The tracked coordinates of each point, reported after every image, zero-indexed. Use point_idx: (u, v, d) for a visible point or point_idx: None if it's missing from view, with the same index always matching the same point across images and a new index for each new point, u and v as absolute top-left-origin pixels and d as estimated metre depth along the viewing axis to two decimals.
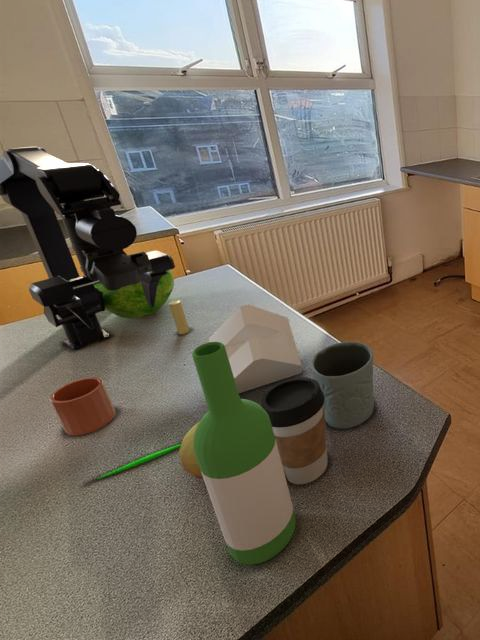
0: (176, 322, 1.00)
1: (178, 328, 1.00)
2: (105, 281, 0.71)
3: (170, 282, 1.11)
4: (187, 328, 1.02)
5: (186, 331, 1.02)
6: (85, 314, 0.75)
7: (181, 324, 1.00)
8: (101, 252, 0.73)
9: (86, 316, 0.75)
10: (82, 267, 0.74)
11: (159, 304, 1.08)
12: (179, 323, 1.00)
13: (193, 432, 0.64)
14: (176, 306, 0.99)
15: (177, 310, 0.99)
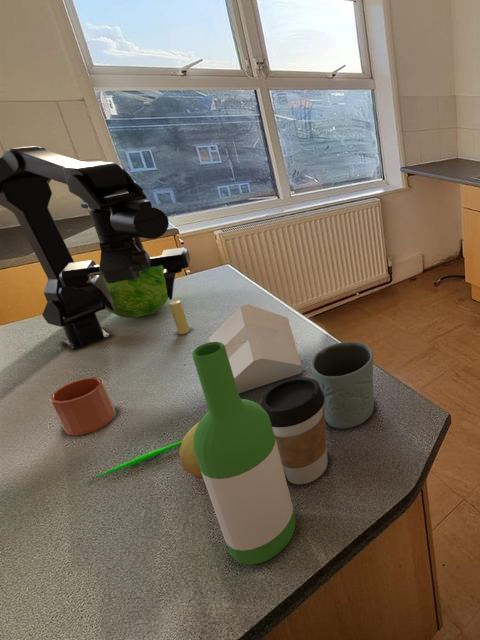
0: (176, 322, 1.00)
1: (178, 328, 1.00)
2: (102, 274, 0.76)
3: None
4: (187, 328, 1.02)
5: (186, 331, 1.02)
6: (104, 297, 0.82)
7: (181, 324, 1.00)
8: (114, 245, 0.79)
9: (105, 299, 0.83)
10: None
11: (159, 304, 1.08)
12: (179, 323, 1.00)
13: (193, 432, 0.64)
14: (176, 306, 0.99)
15: (177, 310, 0.99)
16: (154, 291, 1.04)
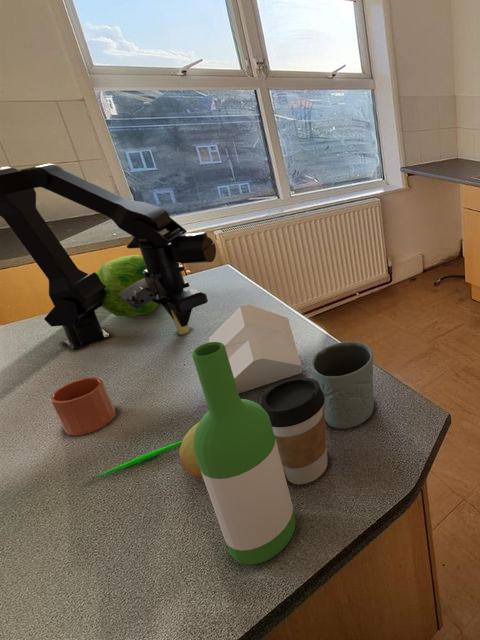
0: (176, 322, 1.00)
1: (178, 328, 1.00)
2: None
3: None
4: (187, 328, 1.02)
5: (186, 331, 1.02)
6: (169, 312, 1.00)
7: None
8: (148, 275, 0.94)
9: (170, 314, 1.00)
10: None
11: (153, 305, 1.08)
12: (179, 323, 1.00)
13: (193, 432, 0.64)
14: None
15: None
16: None
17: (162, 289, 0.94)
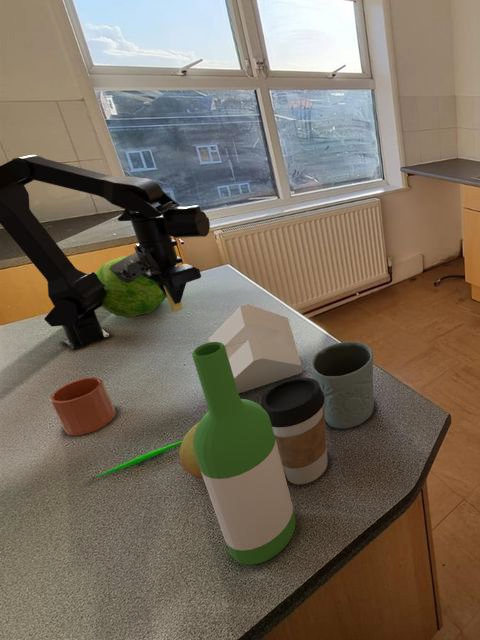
0: (169, 299, 0.98)
1: (172, 305, 0.98)
2: None
3: None
4: (180, 305, 0.99)
5: (179, 308, 0.99)
6: (161, 289, 0.98)
7: None
8: (140, 249, 0.92)
9: (162, 291, 0.98)
10: None
11: (153, 304, 1.08)
12: (172, 300, 0.98)
13: (193, 432, 0.64)
14: None
15: None
16: (147, 291, 1.04)
17: (154, 263, 0.92)
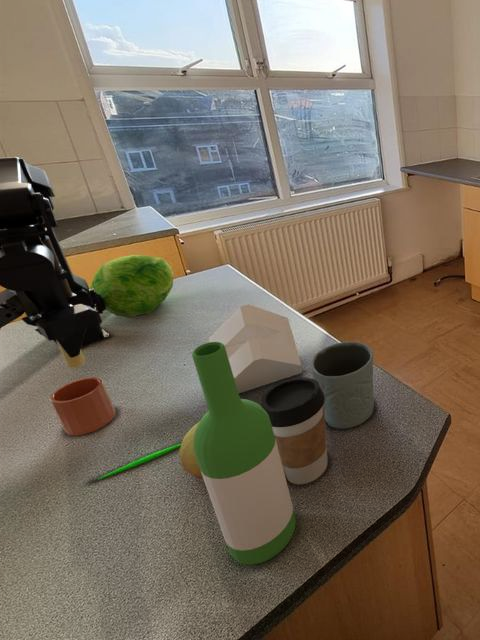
0: (62, 351, 0.71)
1: (67, 359, 0.71)
2: None
3: (167, 282, 1.11)
4: (81, 359, 0.72)
5: (79, 363, 0.72)
6: None
7: None
8: None
9: (53, 340, 0.71)
10: None
11: (153, 304, 1.08)
12: None
13: (193, 432, 0.64)
14: None
15: None
16: (147, 291, 1.04)
17: (31, 306, 0.65)
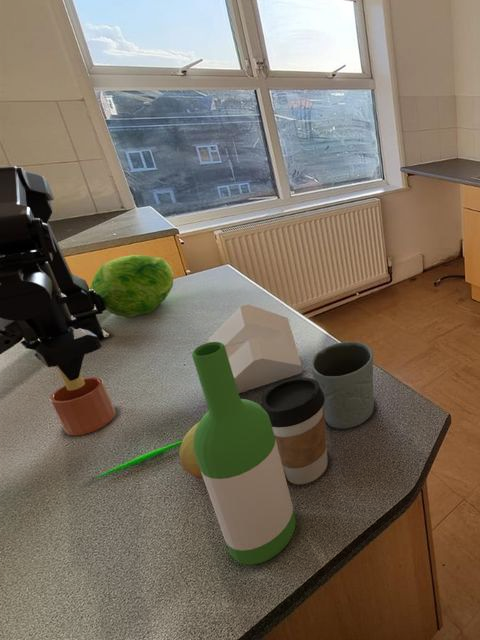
0: (61, 374, 0.70)
1: (66, 382, 0.71)
2: None
3: (167, 282, 1.11)
4: (80, 381, 0.72)
5: (78, 386, 0.72)
6: None
7: None
8: None
9: None
10: None
11: (153, 304, 1.08)
12: None
13: (193, 432, 0.64)
14: None
15: None
16: (147, 291, 1.04)
17: (30, 331, 0.64)
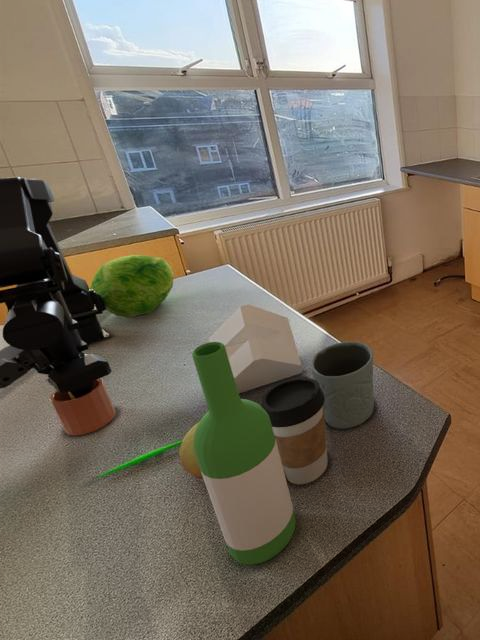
0: (72, 397, 0.72)
1: None
2: None
3: (167, 282, 1.11)
4: None
5: None
6: None
7: None
8: None
9: None
10: None
11: (153, 304, 1.08)
12: None
13: (193, 432, 0.64)
14: None
15: None
16: (147, 291, 1.04)
17: (42, 358, 0.66)
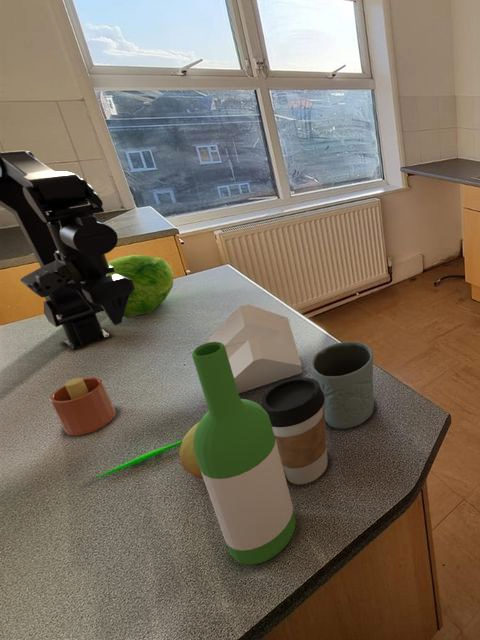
0: None
1: None
2: None
3: (167, 282, 1.11)
4: None
5: None
6: (83, 299, 0.85)
7: None
8: (60, 257, 0.78)
9: (85, 301, 0.85)
10: None
11: (153, 304, 1.08)
12: None
13: (193, 432, 0.64)
14: (75, 387, 0.72)
15: (77, 392, 0.72)
16: (147, 291, 1.04)
17: (77, 274, 0.77)
